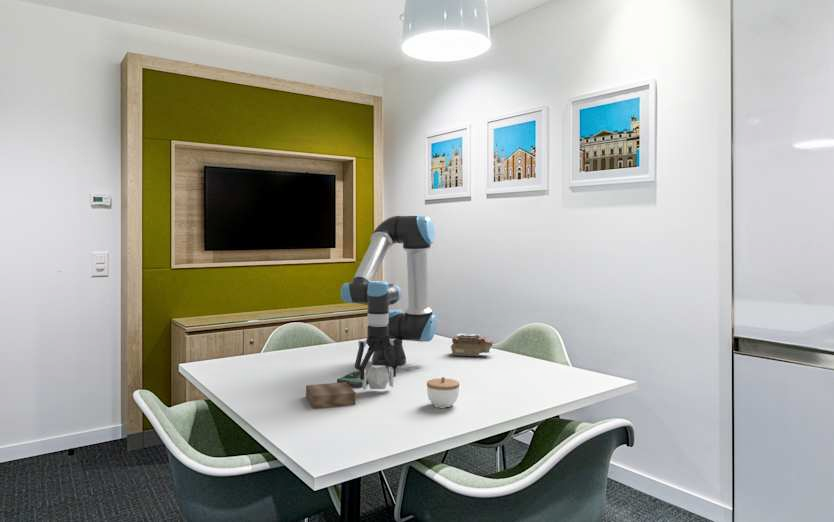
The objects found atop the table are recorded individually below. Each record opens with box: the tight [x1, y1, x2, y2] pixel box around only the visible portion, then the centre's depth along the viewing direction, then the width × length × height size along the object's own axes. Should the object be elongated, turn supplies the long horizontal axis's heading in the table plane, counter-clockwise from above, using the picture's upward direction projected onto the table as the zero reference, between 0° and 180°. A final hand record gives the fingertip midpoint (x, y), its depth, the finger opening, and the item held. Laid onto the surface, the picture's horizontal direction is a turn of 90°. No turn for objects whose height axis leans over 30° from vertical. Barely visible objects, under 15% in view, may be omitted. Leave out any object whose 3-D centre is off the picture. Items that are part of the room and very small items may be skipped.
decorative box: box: [450, 332, 494, 357], centre depth 266 cm, size 13×20×10 cm, turn 72°
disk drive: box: [336, 370, 369, 389], centre depth 214 cm, size 10×3×15 cm
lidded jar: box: [426, 376, 460, 408], centre depth 185 cm, size 11×11×9 cm
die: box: [366, 365, 389, 390], centre depth 201 cm, size 8×9×10 cm
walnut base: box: [305, 382, 357, 409], centre depth 189 cm, size 14×14×4 cm
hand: (377, 387), depth 201 cm, fingers closed on die, 9 cm apart
